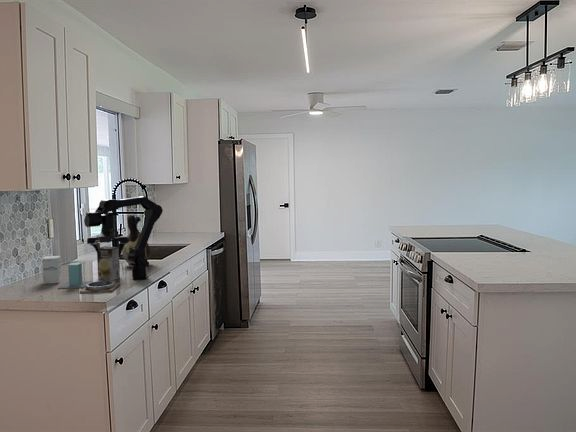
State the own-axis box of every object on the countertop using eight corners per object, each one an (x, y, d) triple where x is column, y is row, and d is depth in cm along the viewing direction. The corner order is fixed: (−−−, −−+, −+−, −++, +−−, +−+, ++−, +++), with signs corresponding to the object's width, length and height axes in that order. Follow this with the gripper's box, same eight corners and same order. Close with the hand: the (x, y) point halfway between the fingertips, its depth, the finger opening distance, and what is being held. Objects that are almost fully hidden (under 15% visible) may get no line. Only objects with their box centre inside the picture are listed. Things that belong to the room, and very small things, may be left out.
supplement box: (42, 284, 223) (41, 258, 222) (46, 281, 230) (44, 256, 229) (59, 283, 225) (57, 257, 224) (62, 279, 232) (60, 255, 231)
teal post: (82, 283, 223) (81, 262, 222) (79, 285, 218) (78, 264, 217) (72, 283, 222) (71, 263, 221) (69, 285, 218) (68, 264, 217)
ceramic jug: (129, 263, 275) (127, 213, 272) (154, 263, 274) (152, 213, 271) (116, 268, 258) (114, 215, 256) (143, 269, 257) (141, 216, 254)
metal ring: (117, 285, 220) (117, 280, 220) (110, 291, 208) (110, 286, 207) (91, 286, 218) (90, 281, 218) (82, 292, 206) (82, 287, 206)
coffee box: (97, 279, 233) (95, 248, 231) (105, 276, 239) (104, 246, 237) (112, 280, 230) (111, 248, 229) (120, 277, 236) (119, 246, 235)
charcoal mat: (92, 282, 227) (92, 281, 227) (84, 288, 215) (84, 287, 215) (67, 282, 226) (67, 281, 226) (57, 288, 214) (57, 287, 214)
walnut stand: (119, 284, 221) (119, 282, 221) (112, 292, 207) (112, 290, 207) (89, 285, 219) (89, 283, 219) (79, 293, 205) (79, 291, 205)
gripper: (82, 227, 211) (84, 261, 213) (124, 226, 214) (125, 259, 215) (90, 225, 223) (91, 256, 224) (129, 224, 225) (130, 255, 226)
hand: (109, 257), depth 222 cm, fingers open, 9 cm apart
